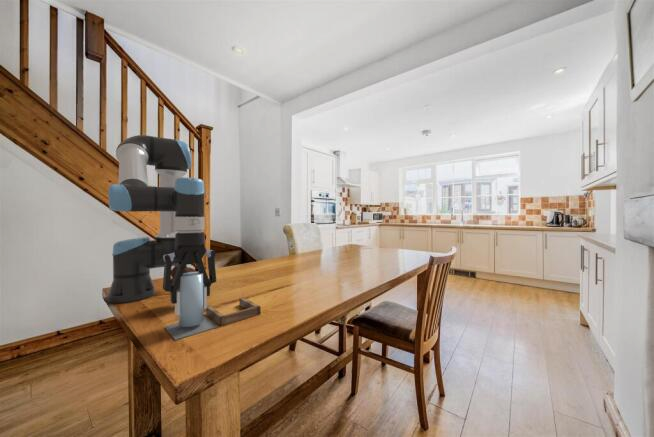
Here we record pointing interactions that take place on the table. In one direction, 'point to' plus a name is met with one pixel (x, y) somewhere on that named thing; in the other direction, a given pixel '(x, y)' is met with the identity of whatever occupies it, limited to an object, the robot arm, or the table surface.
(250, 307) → the brown wooden u-shaped frame
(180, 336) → the coaster
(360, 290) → the table surface
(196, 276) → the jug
